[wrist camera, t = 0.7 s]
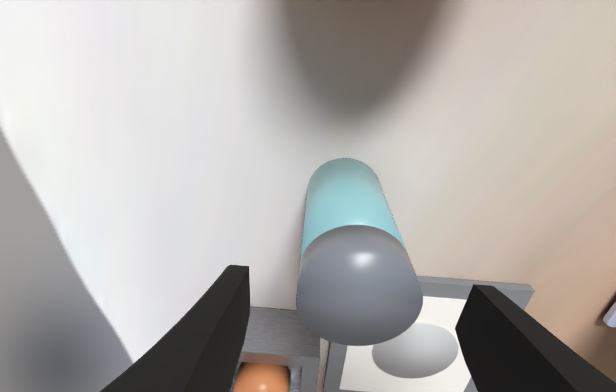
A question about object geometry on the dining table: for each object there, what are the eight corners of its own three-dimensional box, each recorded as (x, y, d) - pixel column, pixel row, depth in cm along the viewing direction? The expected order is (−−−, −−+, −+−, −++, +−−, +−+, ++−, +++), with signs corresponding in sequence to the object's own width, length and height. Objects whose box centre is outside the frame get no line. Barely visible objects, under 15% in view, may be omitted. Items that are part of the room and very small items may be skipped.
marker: (386, 161, 16) (437, 260, 9) (373, 225, 18) (407, 350, 10) (310, 155, 16) (299, 249, 9) (305, 220, 18) (293, 341, 11)
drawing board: (529, 285, 19) (536, 293, 18) (466, 401, 25) (470, 410, 24) (341, 269, 19) (341, 277, 19) (323, 389, 25) (323, 397, 25)
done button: (291, 358, 20) (288, 396, 18) (289, 390, 21) (286, 428, 19) (237, 353, 20) (227, 391, 18) (239, 385, 21) (230, 423, 19)
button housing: (320, 312, 21) (319, 358, 18) (312, 373, 24) (311, 420, 21) (220, 304, 21) (203, 348, 18) (226, 366, 24) (213, 412, 21)
